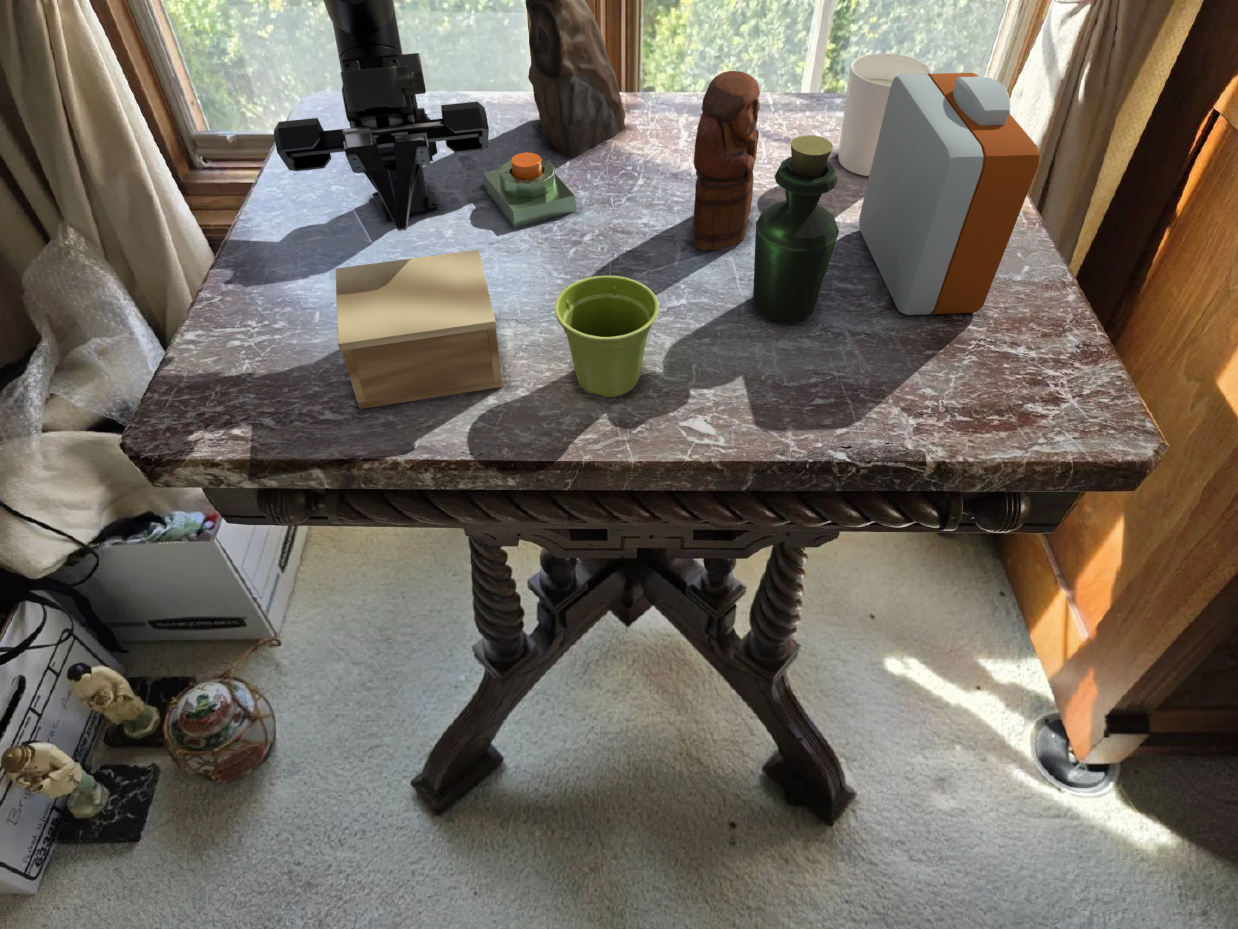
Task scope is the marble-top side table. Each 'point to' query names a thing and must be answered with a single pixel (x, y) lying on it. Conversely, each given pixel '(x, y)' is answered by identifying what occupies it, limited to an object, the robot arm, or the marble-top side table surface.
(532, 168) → the button
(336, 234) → the marble-top side table surface
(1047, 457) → the marble-top side table surface
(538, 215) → the button block
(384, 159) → the robot arm
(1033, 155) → the alarm clock
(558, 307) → the plant pot
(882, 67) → the candle holder
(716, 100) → the wooden figurine
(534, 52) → the owl
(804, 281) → the potion bottle
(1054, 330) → the marble-top side table surface
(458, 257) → the lid
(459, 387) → the chest
